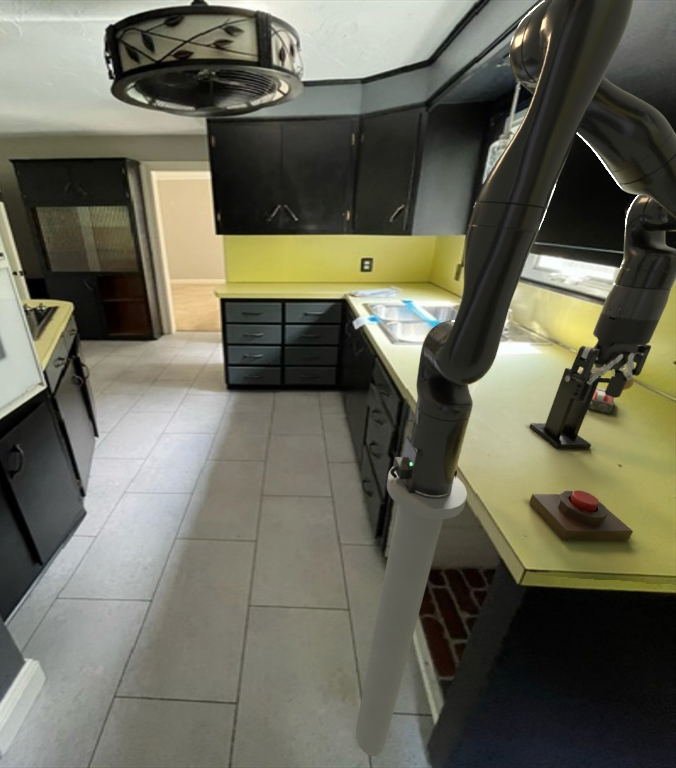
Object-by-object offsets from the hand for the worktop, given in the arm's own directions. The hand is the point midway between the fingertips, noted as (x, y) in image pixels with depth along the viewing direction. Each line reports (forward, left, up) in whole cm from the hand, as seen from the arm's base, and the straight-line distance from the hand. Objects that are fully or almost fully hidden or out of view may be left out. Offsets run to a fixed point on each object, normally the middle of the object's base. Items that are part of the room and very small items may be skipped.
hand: (594, 398), depth 68 cm
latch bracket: (+11, +16, -19) cm, 27 cm away
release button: (-6, -12, -15) cm, 20 cm away
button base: (-6, -12, -19) cm, 23 cm away
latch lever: (+11, +11, -3) cm, 15 cm away
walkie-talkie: (+33, +33, -19) cm, 50 cm away
